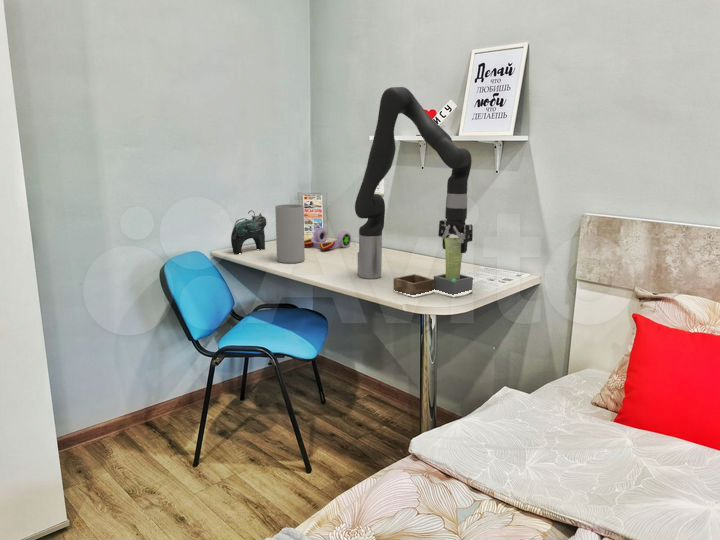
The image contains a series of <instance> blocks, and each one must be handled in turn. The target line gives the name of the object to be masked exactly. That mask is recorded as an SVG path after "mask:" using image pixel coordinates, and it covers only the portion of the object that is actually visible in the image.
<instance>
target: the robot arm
mask: <svg viewBox="0 0 720 540" xmlns="http://www.w3.org/2000/svg"><path fill="white" fill-rule="evenodd" d="M399 114H402V115H404V116H405V117H406V118H408V119H409V120H411V121H412V123H413V124H414V125H415V127H416V129H417V130H418V133H419V134H420V136H421V138H422V139H423V140H424V141H425V142H426V144H428V146H430V147H431V149H433V150H434V151H435V152H436V153H437V154H438V156H439V159H441V161H443V163H444V165H446V167H449V168H450V169H451V174H450V176H449V177H448V179H447V183H446V184H447V185H446V198H445V212H444V213H445V214H444V215H445V216H444V217H445V219H442V220H439V222H438V223H439V224H438V233H437V235H438V237H440V238H442V249H443V250H445V238H450V237H451V235H454V236H457V238H460V240H461V242H462V243H461V253H462V254H467V252H468V243H469V242H473V234H474V233H473V224H466V220H467V219H468V217H467V216H468V183H469V182H468V180H469V176H470V172H471V168H472V161H473V160H472V154H471V153H470V151H469V150H468V149H466V148H463V147H460V148H459V147H457V145H455V144H454V142H452V141H453V139H452V137H451V136H450V135H449V134H448V133H447V132H446V131H445V129H443V128H442V127H441V126H440V125H439V124H438V123H437V122H436V121H435V120H434V119H433V118H432V117H431V116H430V115H429V114H428V112H426V110H425V109H424V108H423V106H422V105H421V104H420V102H419V101H418V99H417V98H416V97H415V95H414V94H413V93H412V92H411V91H410V89H408V88H407V87H404V86H393V87H388V88H386V89H385V90H384V91H383V93H382V95H381V97H380V102H379V108H378V116H377V120H376V121H377V123H376V125H375V126H376V127H375V131H374V136H373V141H372V144H371V146H370V151H369V155H368V158H367V164H366V168H365V171H364V174H363V175H364V176H363V178H362V182H361V185H360V187H359V190H358V193H357V195H356V198H355V201H354V202H355V203H354V211H355V215H356V216H357V218H359V219H367V220H366V222H365V223H363V225H361V226H360V227H359V230H358V252H357V276H358V277H359V278H362V279H368V280H369V279H371V280H373V279H379V277H380V278H381V277H382V265H383V264H382V261H383V260H382V259H383V254H382V253H383V230H384V227H385V216H386V215H385V214H386V204H385V199H384V198H383V196H382V195H381V194H378V193H375V192H376V189H377V188H378V186H379V184H380V183H381V182H382V180H384V178H385V177H386V175H387V174H388V173H389V171H390V170H391V168H392V165H393V161H394V159H395V154H396V140H395V126H396V123H397V119H398V117H399Z"/></svg>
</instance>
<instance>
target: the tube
mask: <svg viewBox="0 0 720 540" xmlns="http://www.w3.org/2000/svg"><path fill="white" fill-rule="evenodd" d="M461 243H462V242H461V240H460V238H459V237H449V238H445V249H444V250H445V274H446V279H449V280H452V279H453V278H454V279H456V280H459V279H460V274H461V269H462V261H463V253H461Z"/></svg>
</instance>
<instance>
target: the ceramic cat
mask: <svg viewBox="0 0 720 540" xmlns="http://www.w3.org/2000/svg"><path fill="white" fill-rule="evenodd" d="M251 212H253V213H254V214H253V215H251V217H252V218H251V219H247V218H240V219H237V220H236V221H235V223H234V227H233V229H232V232H231V235H230V242H231V246H232V253H235V254H234V255H240V254H239V253H241V254H243V251H242V250H243V249H242V248H243V244H244V243H245V242H246V241H247V240H250V239H252V241H254V244H255V247H256V250H257V249H260V250H259V251H262V250H261V249H263V250H265V249H266V236H265V235H266V234H265V228H266V227H267V226H266V225H267V219H266V217H265V216H263V215H262V212H261V213H259V214H258V215H256V214H255V211H254V210H249V211H248V212H247V214H248V215H249V214H250V213H251Z"/></svg>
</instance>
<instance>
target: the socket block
mask: <svg viewBox="0 0 720 540" xmlns="http://www.w3.org/2000/svg"><path fill="white" fill-rule="evenodd" d="M433 279H434V280H435V282H434V289H435V290H439V291H442V292H445V293H448V294H452V295H454V294H458V293H461V292H465V291H469V290H472V291H473V284H474V283H473V281H474V277H472V276H468V275H465V274H461V273H460V279H459V280H456V279H454V278H453V279H452V280H449V279H446V273H442V274H436V275H434V276H433Z"/></svg>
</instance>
